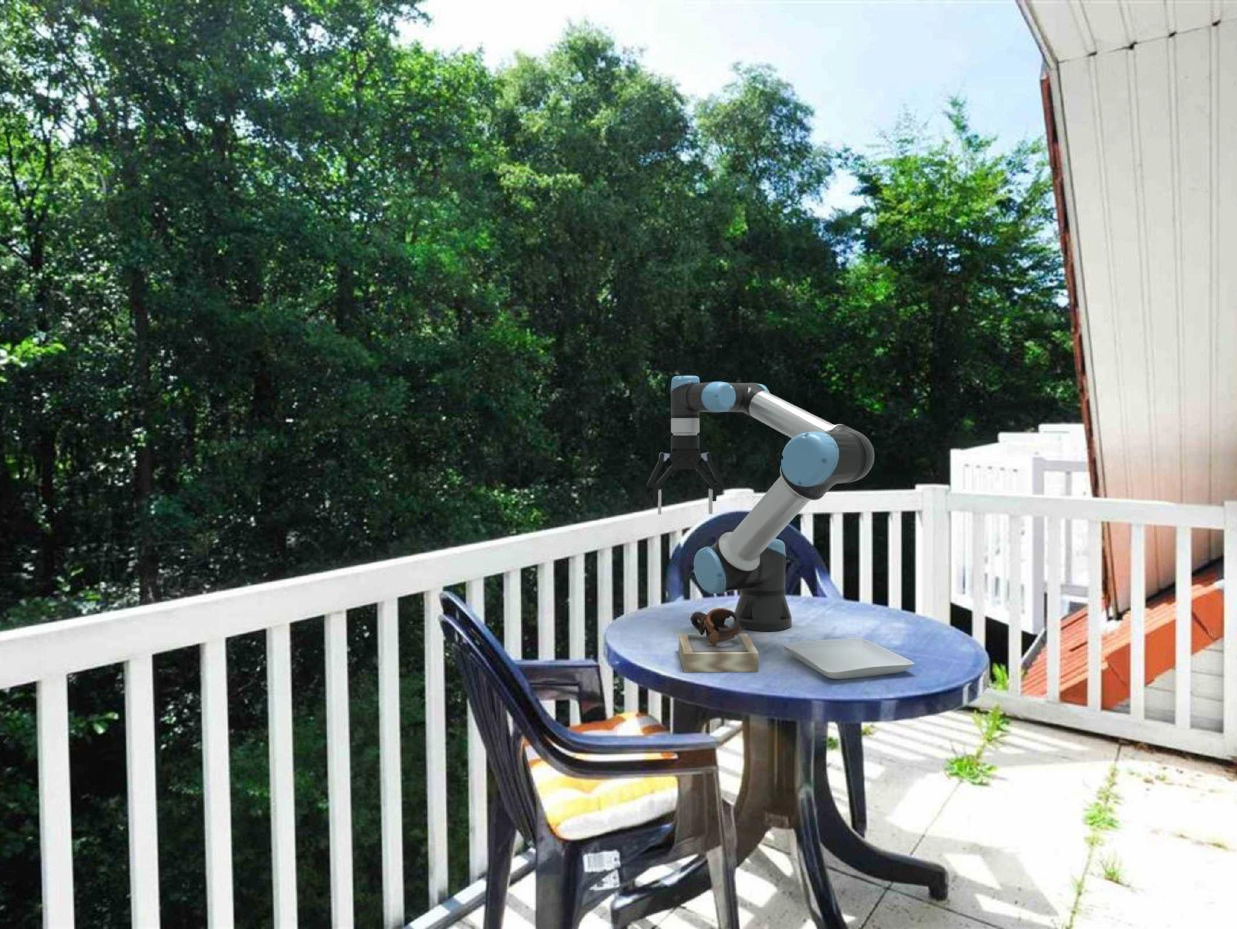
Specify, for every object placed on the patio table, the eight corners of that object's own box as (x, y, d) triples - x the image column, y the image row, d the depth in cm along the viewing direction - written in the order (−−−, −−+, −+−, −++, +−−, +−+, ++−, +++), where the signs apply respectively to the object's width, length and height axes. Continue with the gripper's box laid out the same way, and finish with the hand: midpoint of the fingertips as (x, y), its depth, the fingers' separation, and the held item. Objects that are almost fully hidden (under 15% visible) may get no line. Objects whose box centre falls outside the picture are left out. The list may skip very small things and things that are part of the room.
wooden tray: (746, 650, 195) (746, 632, 195) (758, 671, 179) (758, 652, 179) (678, 650, 195) (678, 633, 195) (684, 671, 179) (684, 652, 179)
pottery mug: (743, 637, 193) (748, 611, 188) (730, 665, 185) (735, 639, 181) (694, 620, 196) (698, 594, 192) (680, 647, 189) (683, 620, 184)
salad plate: (917, 677, 176) (917, 661, 176) (828, 687, 170) (828, 670, 170) (860, 650, 197) (861, 635, 197) (779, 658, 191) (779, 643, 190)
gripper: (730, 433, 225) (729, 511, 226) (637, 434, 225) (638, 512, 226) (734, 434, 217) (733, 515, 219) (638, 434, 217) (638, 515, 219)
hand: (685, 513), depth 222 cm, fingers open, 13 cm apart
